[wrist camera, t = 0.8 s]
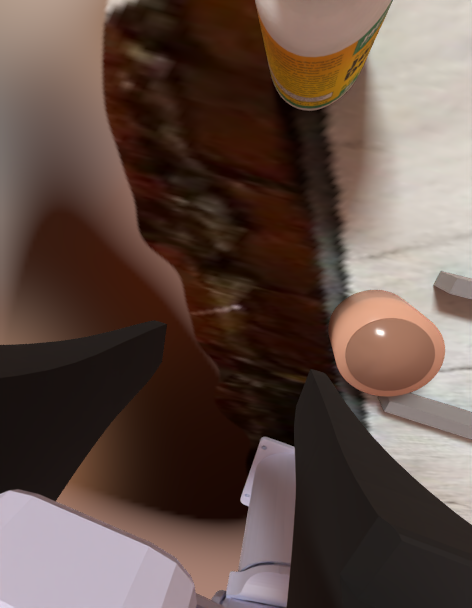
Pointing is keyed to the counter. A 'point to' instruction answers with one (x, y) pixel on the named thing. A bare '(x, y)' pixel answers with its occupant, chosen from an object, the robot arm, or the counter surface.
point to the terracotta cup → (384, 344)
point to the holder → (428, 409)
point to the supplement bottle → (318, 46)
